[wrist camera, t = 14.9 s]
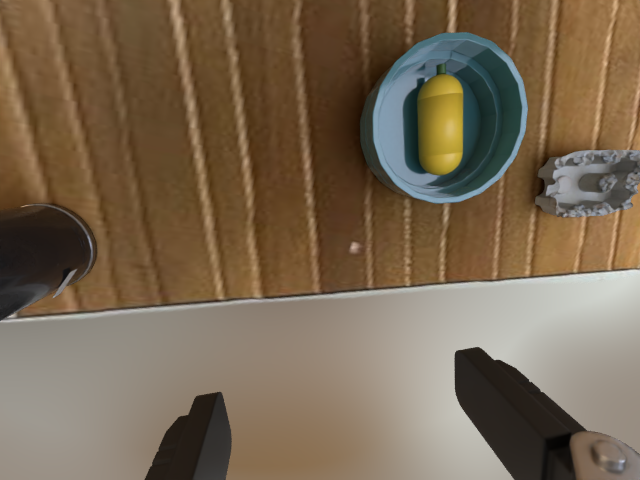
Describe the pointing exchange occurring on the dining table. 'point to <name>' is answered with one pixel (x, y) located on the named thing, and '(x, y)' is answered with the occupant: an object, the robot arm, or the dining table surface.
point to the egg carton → (589, 182)
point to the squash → (440, 123)
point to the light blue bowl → (478, 118)
